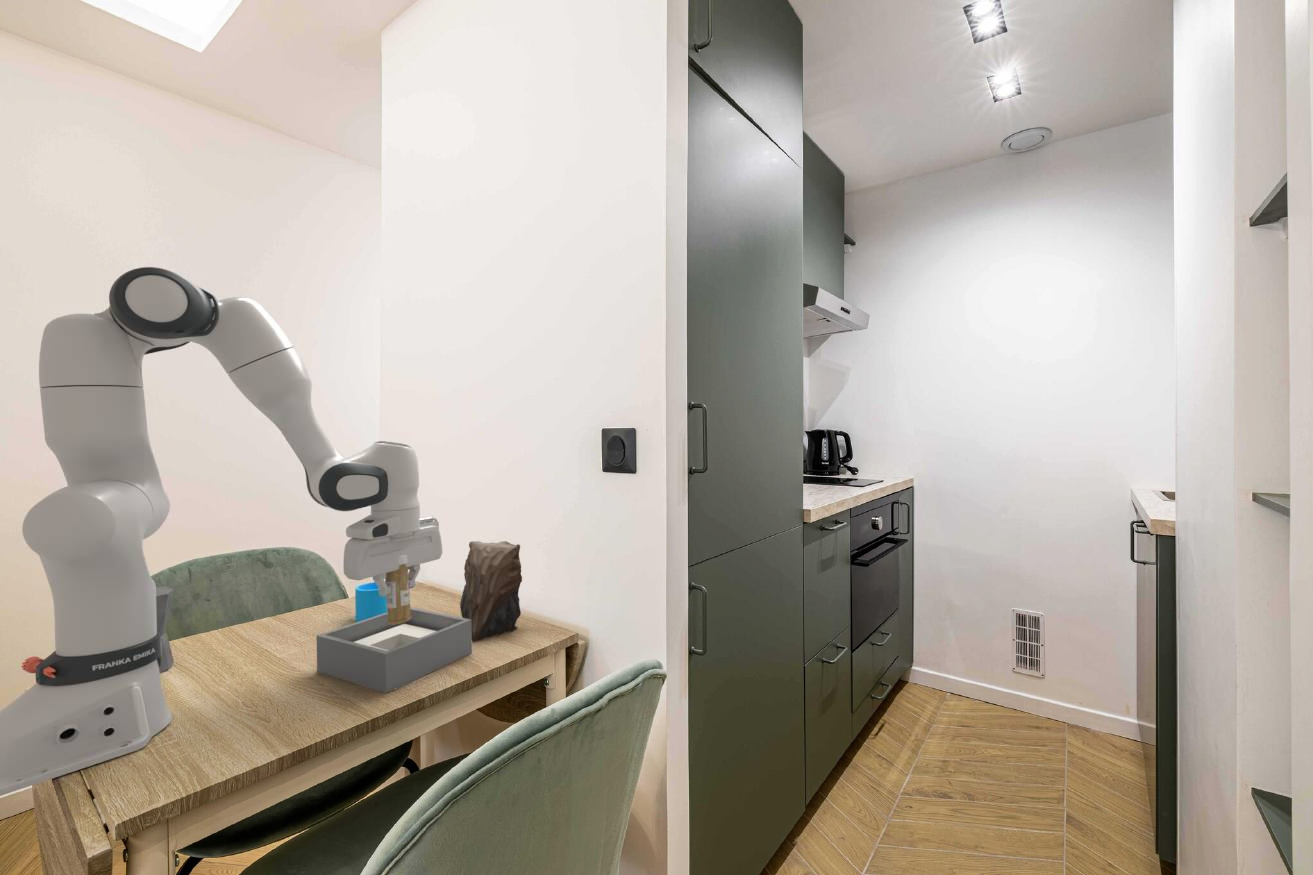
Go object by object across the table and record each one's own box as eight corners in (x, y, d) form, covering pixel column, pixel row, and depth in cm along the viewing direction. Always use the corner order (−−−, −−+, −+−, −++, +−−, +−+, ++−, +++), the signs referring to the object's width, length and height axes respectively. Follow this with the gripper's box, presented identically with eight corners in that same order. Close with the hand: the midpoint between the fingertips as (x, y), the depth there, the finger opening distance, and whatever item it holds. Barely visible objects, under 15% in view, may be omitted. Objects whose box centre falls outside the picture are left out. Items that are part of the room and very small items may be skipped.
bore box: (386, 693, 98) (385, 654, 98) (317, 671, 107) (316, 635, 107) (471, 653, 116) (471, 619, 116) (406, 637, 125) (405, 606, 125)
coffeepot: (144, 658, 114) (142, 571, 114) (193, 656, 115) (192, 569, 115) (73, 694, 99) (71, 592, 98) (131, 691, 100) (129, 591, 99)
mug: (372, 626, 132) (371, 592, 132) (347, 622, 136) (347, 588, 136) (412, 611, 144) (411, 579, 143) (388, 607, 147) (388, 576, 147)
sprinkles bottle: (414, 621, 111) (410, 553, 111) (389, 626, 108) (385, 557, 108) (408, 616, 115) (404, 550, 115) (384, 621, 112) (380, 554, 112)
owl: (458, 625, 133) (457, 541, 133) (511, 616, 139) (510, 536, 139) (470, 642, 122) (469, 551, 122) (527, 631, 128) (526, 544, 128)
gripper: (427, 514, 122) (429, 577, 122) (337, 529, 104) (339, 603, 104) (448, 515, 119) (449, 580, 119) (359, 532, 101) (361, 608, 101)
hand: (397, 591), depth 112 cm, fingers closed on sprinkles bottle, 4 cm apart
